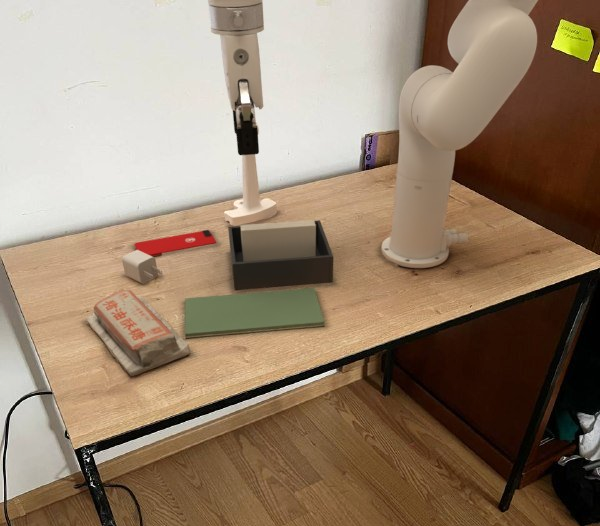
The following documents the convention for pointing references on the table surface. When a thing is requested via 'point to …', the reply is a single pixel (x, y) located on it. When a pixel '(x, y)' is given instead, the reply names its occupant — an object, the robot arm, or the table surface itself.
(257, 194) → the joystick
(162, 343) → the packaged product
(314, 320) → the mat
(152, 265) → the usb wall charger
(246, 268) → the bin
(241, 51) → the robot arm
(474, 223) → the table surface
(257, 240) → the board
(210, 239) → the electronic device
